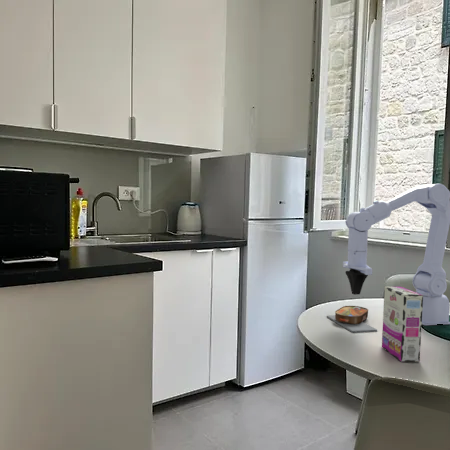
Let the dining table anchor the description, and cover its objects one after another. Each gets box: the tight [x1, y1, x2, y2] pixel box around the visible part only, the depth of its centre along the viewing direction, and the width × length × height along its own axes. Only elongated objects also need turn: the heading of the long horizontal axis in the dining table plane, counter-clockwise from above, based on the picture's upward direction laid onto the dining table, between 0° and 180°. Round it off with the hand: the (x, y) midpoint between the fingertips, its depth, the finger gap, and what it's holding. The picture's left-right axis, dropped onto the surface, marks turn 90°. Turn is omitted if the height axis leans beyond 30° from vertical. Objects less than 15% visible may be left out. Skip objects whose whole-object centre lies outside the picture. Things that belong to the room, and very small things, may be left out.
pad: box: [326, 314, 378, 334], centre depth 136 cm, size 8×17×1 cm, turn 13°
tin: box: [334, 305, 369, 324], centre depth 141 cm, size 15×3×8 cm
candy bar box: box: [381, 286, 423, 363], centre depth 109 cm, size 11×5×16 cm, turn 5°
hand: (355, 294), depth 136 cm, fingers closed
